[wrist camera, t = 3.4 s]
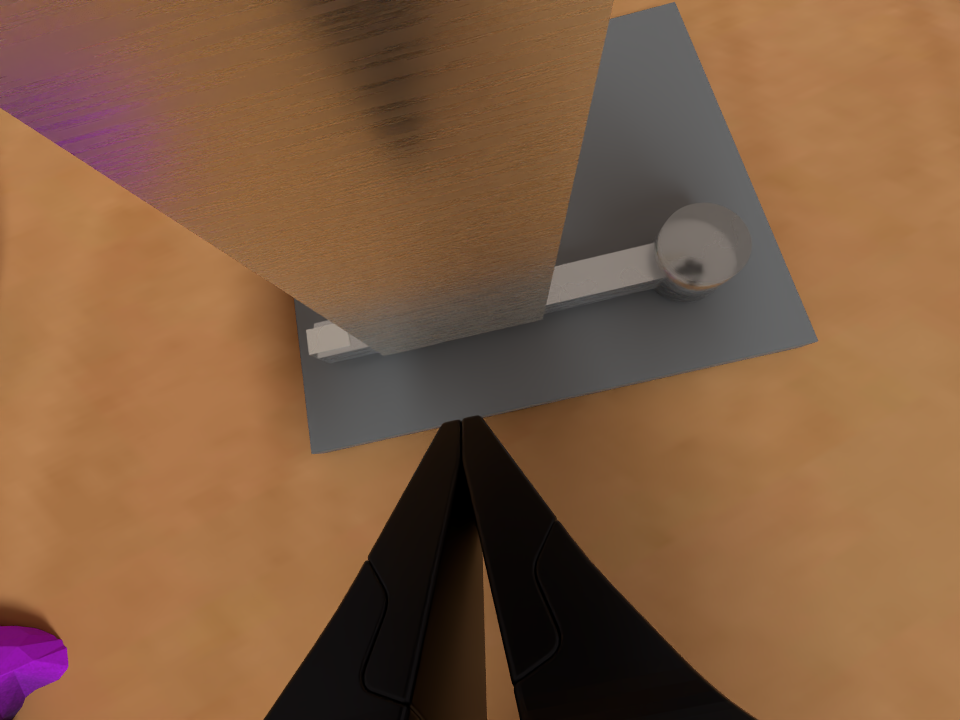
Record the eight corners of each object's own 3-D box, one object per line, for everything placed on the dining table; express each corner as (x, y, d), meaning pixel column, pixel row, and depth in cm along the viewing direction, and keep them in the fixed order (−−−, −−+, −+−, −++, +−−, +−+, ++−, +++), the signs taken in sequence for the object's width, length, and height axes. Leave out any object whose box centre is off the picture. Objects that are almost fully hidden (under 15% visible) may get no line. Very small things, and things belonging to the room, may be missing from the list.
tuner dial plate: (665, 20, 19) (675, -6, 18) (799, 347, 16) (822, 339, 14) (283, 121, 20) (269, 101, 19) (323, 453, 17) (309, 454, 15)
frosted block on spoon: (706, 224, 16) (1607, -798, 3) (732, 292, 15) (2087, -637, 2) (320, 316, 16) (-417, -155, 3) (329, 385, 16) (-540, 125, 3)
